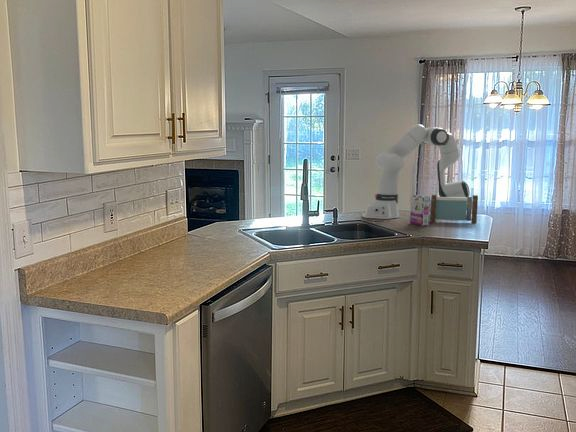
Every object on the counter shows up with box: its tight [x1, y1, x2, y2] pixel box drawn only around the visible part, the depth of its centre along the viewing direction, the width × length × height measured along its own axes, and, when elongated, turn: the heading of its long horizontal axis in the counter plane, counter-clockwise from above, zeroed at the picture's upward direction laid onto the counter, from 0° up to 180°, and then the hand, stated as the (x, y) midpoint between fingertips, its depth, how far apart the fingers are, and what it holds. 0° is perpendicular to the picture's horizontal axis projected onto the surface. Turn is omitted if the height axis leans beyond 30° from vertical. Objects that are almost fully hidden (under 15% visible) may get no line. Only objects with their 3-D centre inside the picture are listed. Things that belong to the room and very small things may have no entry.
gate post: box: [471, 194, 479, 225], centre depth 318 cm, size 2×3×16 cm
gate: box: [429, 196, 473, 222], centre depth 321 cm, size 23×2×14 cm, turn 80°
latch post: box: [430, 194, 437, 224], centre depth 320 cm, size 2×2×16 cm
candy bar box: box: [409, 194, 431, 227], centre depth 314 cm, size 11×5×16 cm, turn 25°
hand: (452, 206), depth 335 cm, fingers closed
